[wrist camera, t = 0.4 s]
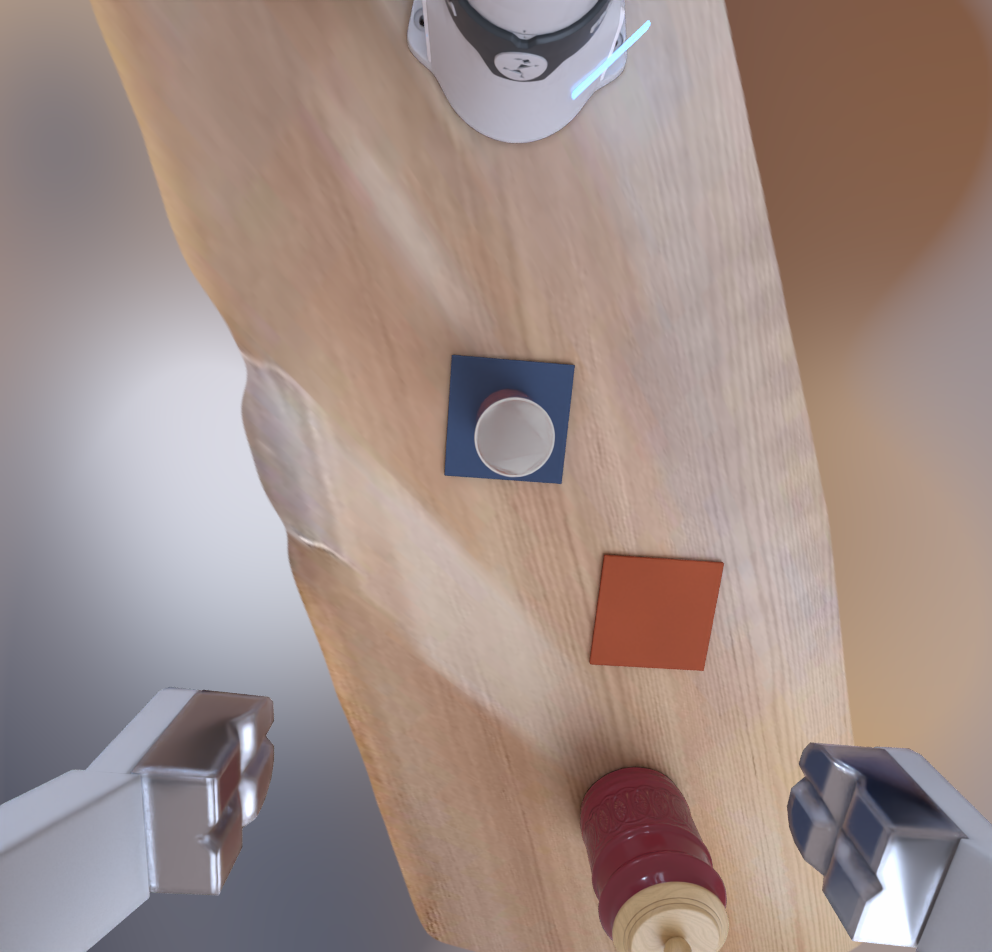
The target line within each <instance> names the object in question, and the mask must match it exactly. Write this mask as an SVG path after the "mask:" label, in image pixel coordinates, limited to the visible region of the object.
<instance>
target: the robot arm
mask: <svg viewBox="0 0 992 952" xmlns="http://www.w3.org/2000/svg"><path fill="white" fill-rule="evenodd" d="M422 20H424V26H425V27H423V26H421V25H420V23H421V21H422ZM650 24H651V23H650V21H649V20H648V21H647V22H646V23H645V24H644V25H643V26H642V27H641V28H640V29H639V30H638V31H636V32H635V33H634V34H633V35H632V36H631V37H630V38H629V39H628V40H627V41H626V23H625V2H624V0H414V2H413V7H412V11H411V16H410V21H409V25H408V30H407V43H408V47H409V49H410V51H411V52H412V54H413V55H414V56H415V57H416V58H417V59H418V60H419V61H420V62H421V63H422V64H423V65H424V66H425V67H426V68H428V69H429V70H430V71H431V72H432V73H433V74H434V76H435V77H436V79H437V80H438V82H439V84H440V86H441V88H442V90H443V92H444V94H445V96H446V98H447V100H448V101H449V103H450V104H451V106H452V107H453V109H454V110H455V111H456V113H457V114H458V115H459V116H460V117H461V118H462V119H463V120H464V121H465V122H466V123H467V124H468V125H469V126H471V127H472V128H473V129H475V130H476V131H478V132H480V133H481V134H483V135H485V136H487V137H490V138H492V139H495V140H498V141H503V142H509V143H527V142H533V141H537V140H540V139H543V138H546V137H548V136H550V135H552V134H554V133H556V132H557V131H559V130H560V129H562V128H563V127H564V126H566V125H567V124H568V123H569V122H570V121H571V120H572V119H573V118H574V117H575V116H576V115H577V114H578V113H579V111H580V110H581V109H582V107H583V106H584V105H585V103H586V102H587V100H588V99H589V98H590V97H591V95H592V94H593V93H594V92H595V91H596V90H598V89H600V88H601V87H603V86H605V85H606V84H608V83H610V82H611V81H613V80H614V79H615V78H617V77H618V76H619V75H620V74H621V73H622V71H623V69H624V67H625V64H626V60H627V49H628V48H629V47H630V46H631V45H632V44H633V43H634V42H635V41H636V40H637V39H638V38H639V37H640V36H641V35H642V34H643V33H645V32H646V31H647V30H648V28H649V26H650ZM615 45H616V47H615ZM273 722H274V713H273V701H272V700H271V699H270V698H269V697H264V696H256V695H246V694H237V693H228V692H218V691H209V690H202V691H201V690H195V689H185V688H174V687H168V688H165V689H163V690H160V691H159V692H158V693H157V694H156V695H155V696H154V697H153V698H152V699H151V700H150V701H149V702H148V703H147V704H146V705H145V707H143V709H142V710H141V711H140V712H139V713H138V714H137V715H136V716H135V717H134V718H133V719H132V720H131V721H130V723H129V724H128V725H127V726H126V727H125V728H124V729H123V730H122V731H121V732H120V733H119V734H118V735H117V737H115V739H114V740H113V741H112V742H111V743H110V744H109V745H108V746H107V747H106V748H105V749H104V750H103V751H102V752H101V754H100V755H99V756H98V757H97V758H96V759H95V760H94V761H93V762H92V763H91V764H90V765H89V766H88V767H87V769H86V770H71V771H69V772H67V773H65V774H63V775H61V776H59V777H57V778H55V779H53V780H51V781H49V782H47V783H45V784H43V785H41V786H38V787H37V788H34V789H32V790H30V791H28V792H26V793H24V794H22V795H20V796H18V797H16V798H14V799H12V800H10V801H8V802H6V803H4V804H2V805H0V952H86V951H87V950H88V949H90V948H91V947H92V946H93V945H94V944H95V943H97V942H98V941H99V940H100V939H101V938H102V937H104V936H105V935H106V934H107V933H108V932H109V931H111V930H112V929H113V928H114V927H115V926H116V925H117V924H119V923H120V922H121V921H122V920H123V919H125V918H126V917H127V916H128V915H129V914H130V913H132V912H133V911H134V910H135V909H136V908H137V907H138V906H140V905H141V904H142V903H143V902H144V901H145V900H146V899H148V898H149V896H150V893H149V892H151V893H178V894H202V895H219V893H220V891H221V889H222V887H223V885H224V883H225V881H226V879H227V877H228V875H229V873H230V871H231V869H232V867H233V864H234V863H235V861H236V858H237V857H238V855H239V853H240V851H241V848H242V828H243V827H245V826H246V825H247V824H248V823H250V822H251V821H253V820H254V819H255V818H256V817H257V815H258V813H259V811H260V809H261V807H262V805H263V803H264V800H265V797H266V794H267V791H268V787H269V784H270V781H271V777H272V770H273V762H274V746H273V744H272V743H271V742H270V740H269V739H268V738H267V737H266V734H267V732H268V731H269V729H270V727H271V725H272V723H273ZM799 766H800V768H801V770H802V772H803V774H804V776H805V777H804V778H803V779H802V780H800V781H799V782H798V783H797V784H796V785H795V786H793V787H792V788H791V792H790V797H789V801H788V805H787V811H788V821H789V828H790V831H791V834H792V836H793V839H794V842H795V844H796V846H797V848H798V850H799V851H800V853H801V855H802V857H803V858H804V860H805V861H806V862H808V863H809V864H810V865H811V866H813V867H814V868H815V869H816V870H817V871H819V872H820V873H821V874H822V875H824V878H823V888H822V891H823V892H824V894H825V896H826V897H827V899H828V901H829V903H830V904H831V906H832V908H833V909H834V911H835V913H836V914H837V916H838V918H839V919H840V921H841V923H842V924H843V926H844V928H845V929H846V931H847V933H848V934H849V936H850V938H851V939H852V941H859V942H870V943H878V944H888V945H897V946H907V947H917V949H916V952H992V824H991V823H990V822H989V821H988V820H987V819H986V818H985V817H984V816H983V815H982V814H981V813H980V812H979V811H978V810H977V809H976V808H975V807H974V806H973V805H972V804H971V803H970V802H969V801H968V800H966V799H965V798H964V797H963V796H962V795H961V794H960V793H959V792H958V791H957V790H956V789H955V788H954V787H953V786H952V785H951V784H950V783H949V782H948V781H947V780H946V779H945V778H944V777H943V776H942V775H941V774H940V773H939V772H938V771H937V770H936V769H935V768H934V767H933V766H932V765H931V764H930V763H929V762H928V761H927V760H926V759H925V758H924V757H923V756H922V755H920V754H918V753H916V752H914V751H913V750H911V749H908V748H891V747H874V748H872V747H861V746H848V745H836V744H823V743H809V744H808V745H807V747H806V748H805V749H804V750H803V752H802V755H801V758H800V761H799Z"/></svg>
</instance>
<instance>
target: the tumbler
mask: <svg viewBox="0 0 992 952" xmlns="http://www.w3.org/2000/svg"><path fill="white" fill-rule="evenodd" d="M474 440H475V447H476V450H477V453H478V455H479V457H480V459H481V460H482V462H483V463H484V464H485V465H486V466H487V467H488V468H489V469H491V470H492V471H494V472H496V473H498V474H500V475H503V476H508V477H521V476H525V475H528V474H531V473H533V472H535V471H536V470H538V469H539V468H540V467H541V466H543V465H544V464H545V462H546V461H547V460H548V458H549V457H550V455H551V453H552V450H553V447H554V442H555V432H554V427H553V423H552V421H551V419H550V417H549V415H548V414H547V413H546V411H545V410H544V409H543V408H542V407H541V406H539V405H538V404H537V403H535V402H534V401H533V400H532V399H531V398H530V397H529V396H528V395H526V394H525V393H523V392H521V391H518V390H513V389H504V390H499V391H497V392H494V393H492V394H491V395H489V396H488V397H487V398H486V399H485V400H484V401H483V402H482V404H481V406H480V407H479V410H478V413H477V418H476V428H475V435H474Z"/></svg>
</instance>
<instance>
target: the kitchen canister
mask: <svg viewBox="0 0 992 952" xmlns="http://www.w3.org/2000/svg"><path fill="white" fill-rule="evenodd" d="M580 814H581V818H580V827H581V832H582V838H583V841H584V844H585V846H586V849H587V854H588V858H589V863H590V868H591V872H592V884H593V889H594V892H595V894H596V896H597V898H598V900H599V905H598V912H599V919H600V922H601V925H602V927H603V929H604V931H605V932H606V934H607V935H608V936H609V937H610V939H611V940H612V941H613V943H614V946H615V948H616V950H617V952H718V951H719V950H720V949H721V947H722V946H723V944H724V942H725V940H726V938H727V934H728V929H729V920H728V915H727V912H726V903H727V896H726V889H725V886H724V883H723V881H722V879H721V877H720V876H719V874H718V873H717V872H716V871H715V870H714V869H713V864H712V859H711V856H710V853H709V851H708V849H707V847H706V846H705V844H704V843H703V841H702V839H701V837H700V835H699V832H698V830H697V828H696V826H695V824H694V821H693V819H692V817H691V813H690V809H689V806H688V804H687V802H686V800H685V798H684V796H683V794H682V793H681V792H680V790H679V789H678V788H677V787H676V785H675V784H674V783H673V782H672V781H671V780H670V779H669V778H668V777H667V776H665V775H663V774H662V773H660V772H657V771H655V770H652V769H647V768H640V767H632V768H624V769H620V770H617V771H614V772H611V773H609V774H607V775H605V776H604V777H602V778H601V779H599V780H598V781H597V782H596V783H595V784H593V786H592V787H591V788H590V789H589V790H588V792H587V793H586V795H585V797H584V799H583V802H582V805H581V813H580Z"/></svg>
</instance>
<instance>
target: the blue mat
mask: <svg viewBox="0 0 992 952" xmlns="http://www.w3.org/2000/svg"><path fill="white" fill-rule="evenodd" d="M574 368H575V365H568V364H556V363H544V362H532V361H520V360H508V359H496V358H484V357H472V356H460V355H452V362H451V379H450V395H449V411H448V427H447V443H446V460H445V475H447V476H460V477H474V478H488V479H502V480H516V481H530V482H543V483H557V484H561V483H562V474H563V465H564V456H565V447H566V438H567V429H568V421H569V412H570V403H571V394H572V385H573V376H574ZM504 389H513V390H518V391H521V392H523V393H525V394H526V395H528V396H529V397H530V398H531V399H532V400H533V401H534V402H535V403H537V404H538V405H539V406H541V407H542V408H543V409H544V410H545V411H546V413H547V414H548V415H549V417H550V419H551V421H552V423H553V427H554V432H555V442H554V447H553V450H552V453H551V455H550V457H549V458H548V460H547V461H546V462H545V464H544V465H543V466H541V467H540V468H539V469H538V470H536V471H535V472H533V473H531V474H528V475H525V476H521V477H508V476H503V475H500V474H498V473H496V472H494V471H492V470H491V469H489V468H488V467H487V466H486V465H485V464H484V463H483V462H482V460H481V459H480V457H479V455H478V453H477V450H476V447H475V440H474V435H475V428H476V418H477V413H478V410H479V407H480V406H481V404H482V402H483V401H484V400H485V399H486V398H487V397H488V396H489V395H491V394H492V393H494V392H497V391H499V390H504Z"/></svg>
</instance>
